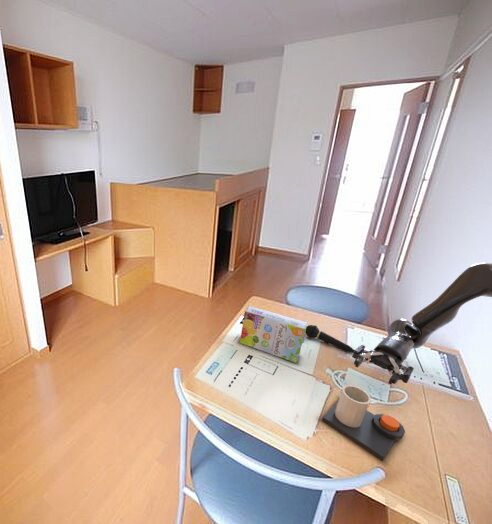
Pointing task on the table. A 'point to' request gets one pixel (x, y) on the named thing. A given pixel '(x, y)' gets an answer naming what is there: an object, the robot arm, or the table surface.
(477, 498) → the table surface
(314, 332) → the microphone
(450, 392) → the table surface
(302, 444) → the table surface
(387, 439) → the scale
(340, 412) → the cup
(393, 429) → the button
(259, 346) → the snack box
